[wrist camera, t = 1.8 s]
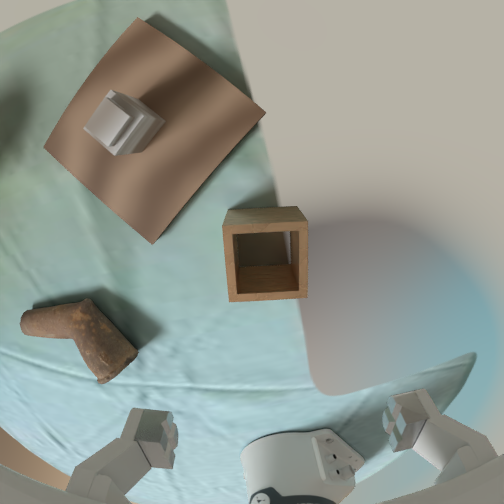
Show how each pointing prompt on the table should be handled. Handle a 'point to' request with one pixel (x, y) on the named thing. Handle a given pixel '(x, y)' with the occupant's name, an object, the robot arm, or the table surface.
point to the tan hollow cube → (267, 276)
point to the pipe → (83, 335)
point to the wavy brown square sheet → (150, 128)
